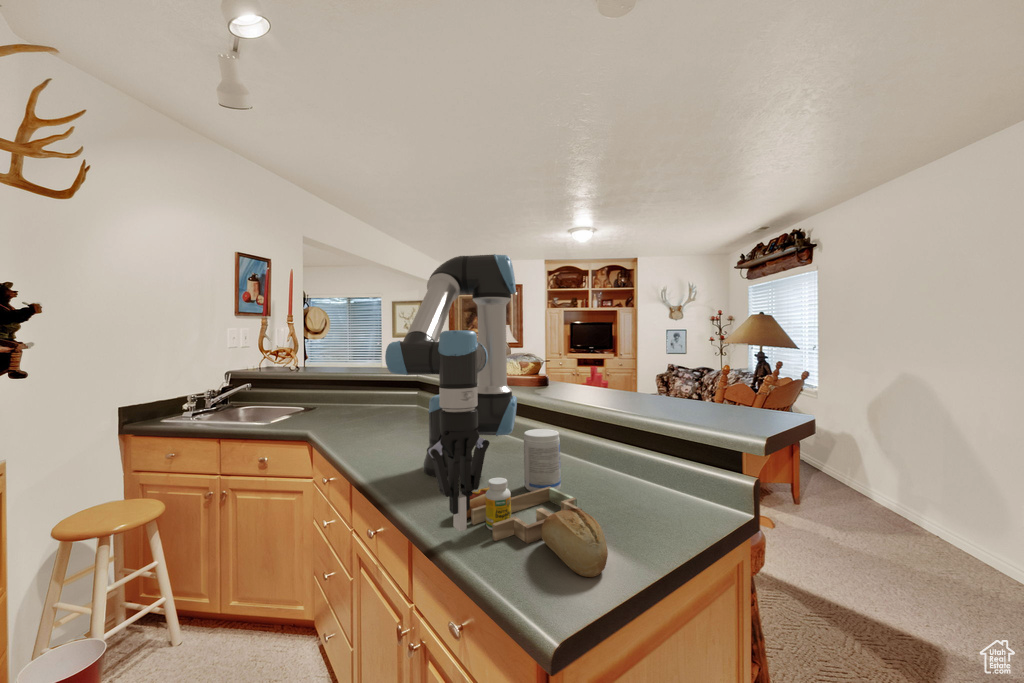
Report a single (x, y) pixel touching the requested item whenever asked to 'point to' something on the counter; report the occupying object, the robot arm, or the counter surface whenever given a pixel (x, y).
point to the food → (477, 500)
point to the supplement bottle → (497, 501)
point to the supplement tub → (542, 459)
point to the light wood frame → (521, 502)
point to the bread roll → (576, 541)
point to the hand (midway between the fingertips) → (459, 528)
